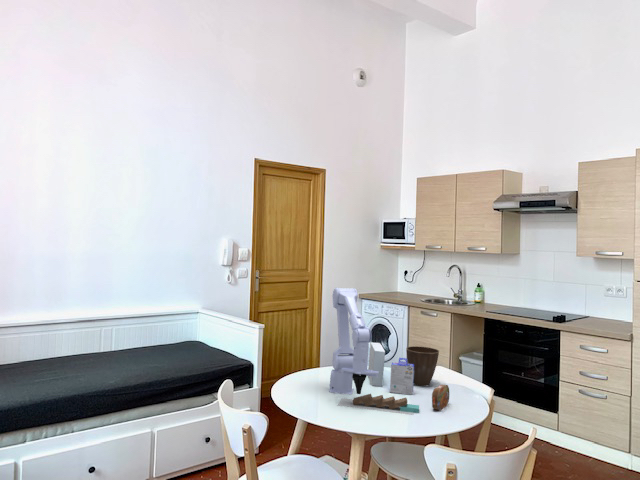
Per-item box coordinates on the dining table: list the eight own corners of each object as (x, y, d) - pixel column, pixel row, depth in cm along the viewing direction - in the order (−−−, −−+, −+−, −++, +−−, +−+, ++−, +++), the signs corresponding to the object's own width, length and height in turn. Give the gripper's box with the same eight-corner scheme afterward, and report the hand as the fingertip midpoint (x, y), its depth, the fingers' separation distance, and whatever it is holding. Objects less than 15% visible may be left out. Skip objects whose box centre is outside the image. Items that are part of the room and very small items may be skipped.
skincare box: (383, 387, 220) (385, 351, 221) (371, 386, 220) (373, 350, 221) (378, 374, 241) (380, 342, 242) (367, 374, 242) (369, 341, 242)
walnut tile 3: (375, 403, 190) (393, 399, 188) (376, 400, 194) (394, 396, 193) (377, 408, 190) (394, 403, 188) (378, 404, 194) (395, 400, 193)
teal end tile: (400, 406, 188) (419, 408, 186) (401, 403, 192) (419, 405, 190) (400, 410, 188) (418, 413, 186) (400, 407, 192) (419, 409, 190)
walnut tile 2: (364, 402, 191) (381, 398, 189) (365, 399, 195) (382, 394, 194) (365, 406, 191) (382, 402, 189) (366, 403, 195) (383, 398, 194)
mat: (337, 406, 190) (337, 405, 190) (341, 398, 200) (341, 397, 200) (413, 415, 184) (413, 414, 184) (414, 407, 194) (414, 406, 194)
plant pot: (399, 379, 234) (401, 346, 234) (428, 379, 237) (430, 346, 237) (412, 389, 219) (414, 353, 219) (443, 388, 223) (445, 353, 223)
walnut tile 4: (388, 405, 189) (405, 400, 187) (389, 402, 193) (406, 397, 192) (389, 409, 189) (406, 404, 187) (390, 405, 193) (407, 401, 192)
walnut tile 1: (352, 401, 192) (369, 396, 190) (354, 397, 196) (370, 393, 195) (353, 405, 192) (370, 400, 190) (355, 401, 196) (372, 397, 195)
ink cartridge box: (413, 391, 215) (414, 358, 215) (412, 395, 210) (414, 361, 210) (390, 389, 217) (392, 356, 217) (389, 392, 212) (391, 359, 212)
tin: (437, 413, 188) (438, 391, 188) (429, 411, 190) (430, 389, 190) (449, 403, 201) (450, 383, 201) (442, 402, 203) (443, 381, 203)
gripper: (340, 359, 191) (338, 394, 191) (377, 362, 188) (376, 398, 188) (343, 355, 198) (342, 389, 198) (379, 359, 195) (378, 393, 195)
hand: (358, 393), depth 193 cm, fingers closed
